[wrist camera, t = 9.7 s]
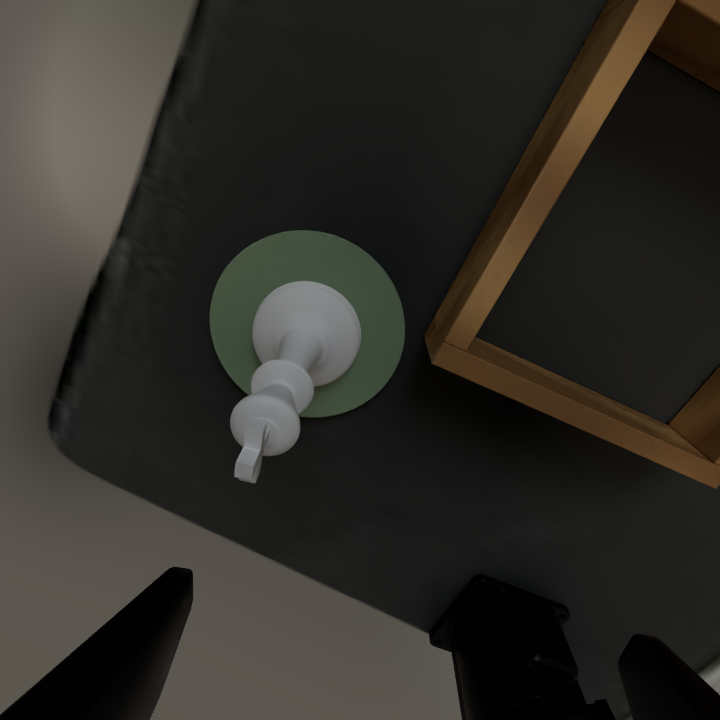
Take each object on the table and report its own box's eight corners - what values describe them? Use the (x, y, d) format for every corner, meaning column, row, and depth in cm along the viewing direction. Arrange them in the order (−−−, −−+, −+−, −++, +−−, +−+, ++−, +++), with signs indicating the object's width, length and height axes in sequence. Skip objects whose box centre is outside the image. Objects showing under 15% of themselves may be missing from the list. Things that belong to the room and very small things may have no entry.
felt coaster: (356, 439, 22) (356, 443, 22) (190, 371, 21) (186, 375, 21) (439, 283, 19) (440, 285, 18) (247, 193, 18) (244, 193, 17)
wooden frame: (669, 447, 21) (716, 489, 19) (423, 336, 20) (431, 363, 17) (918, 171, 16) (1037, 169, 13) (614, -13, 15) (673, -62, 12)
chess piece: (372, 294, 19) (365, 406, 9) (348, 392, 21) (324, 563, 11) (261, 269, 18) (144, 358, 9) (248, 370, 20) (140, 527, 11)
